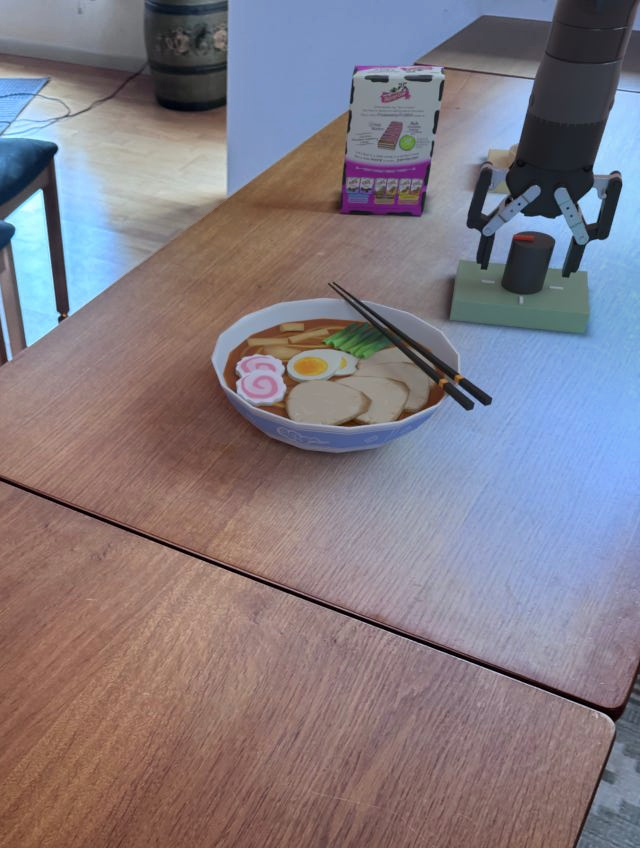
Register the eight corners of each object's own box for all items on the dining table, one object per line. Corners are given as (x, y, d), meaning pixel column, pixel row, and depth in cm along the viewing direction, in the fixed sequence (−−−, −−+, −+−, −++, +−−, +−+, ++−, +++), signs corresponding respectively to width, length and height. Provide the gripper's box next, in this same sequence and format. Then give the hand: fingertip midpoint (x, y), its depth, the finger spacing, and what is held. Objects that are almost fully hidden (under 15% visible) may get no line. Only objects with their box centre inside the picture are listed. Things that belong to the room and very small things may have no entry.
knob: (542, 277, 101) (556, 230, 97) (542, 296, 98) (556, 247, 94) (501, 274, 102) (513, 226, 98) (500, 292, 99) (512, 244, 95)
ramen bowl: (171, 387, 94) (169, 313, 88) (365, 340, 99) (376, 267, 93) (278, 532, 78) (284, 453, 72) (503, 467, 83) (526, 389, 77)
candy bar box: (422, 202, 123) (446, 64, 111) (422, 217, 120) (447, 77, 108) (339, 199, 125) (353, 62, 113) (337, 214, 121) (352, 75, 109)
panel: (579, 296, 104) (587, 269, 102) (581, 340, 98) (590, 312, 95) (454, 284, 107) (459, 258, 105) (447, 326, 101) (453, 298, 98)
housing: (573, 171, 129) (581, 140, 126) (574, 199, 122) (583, 167, 119) (485, 164, 131) (492, 135, 128) (482, 192, 125) (489, 161, 122)
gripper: (645, 98, 88) (591, 262, 100) (494, 89, 91) (459, 249, 103) (651, 125, 83) (593, 293, 95) (490, 114, 86) (454, 279, 98)
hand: (523, 270), depth 99 cm, fingers open, 8 cm apart
